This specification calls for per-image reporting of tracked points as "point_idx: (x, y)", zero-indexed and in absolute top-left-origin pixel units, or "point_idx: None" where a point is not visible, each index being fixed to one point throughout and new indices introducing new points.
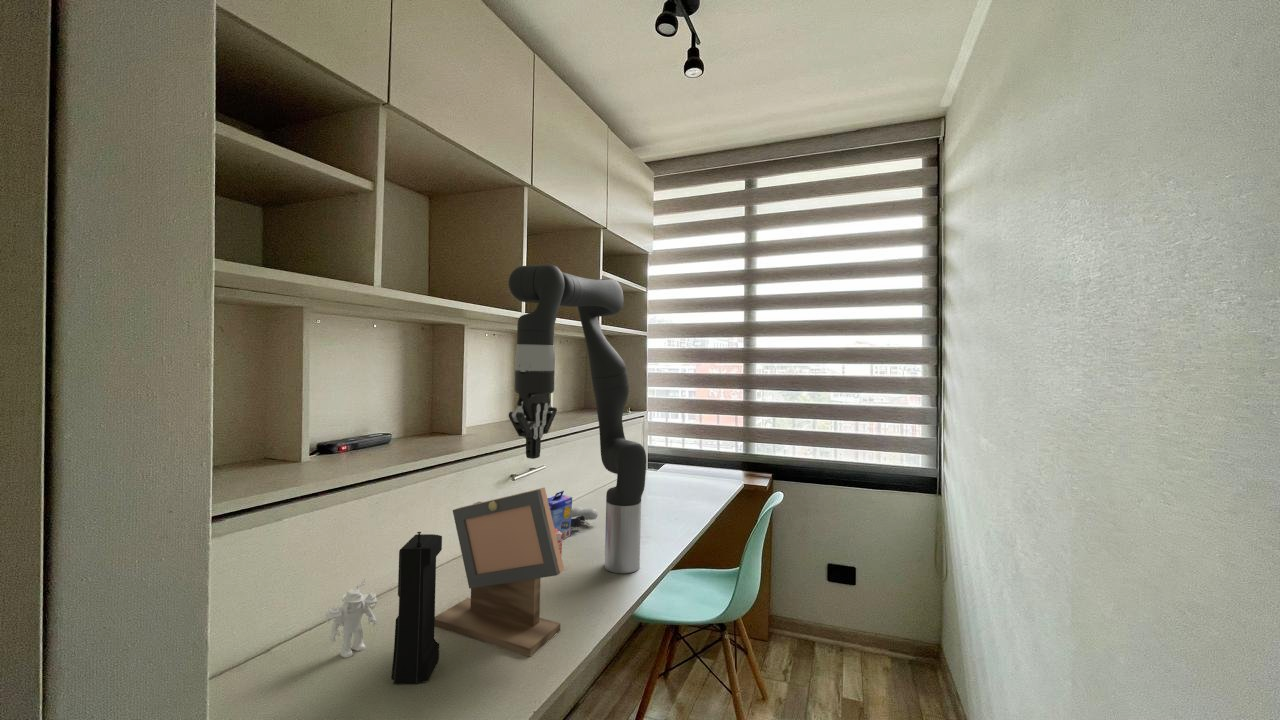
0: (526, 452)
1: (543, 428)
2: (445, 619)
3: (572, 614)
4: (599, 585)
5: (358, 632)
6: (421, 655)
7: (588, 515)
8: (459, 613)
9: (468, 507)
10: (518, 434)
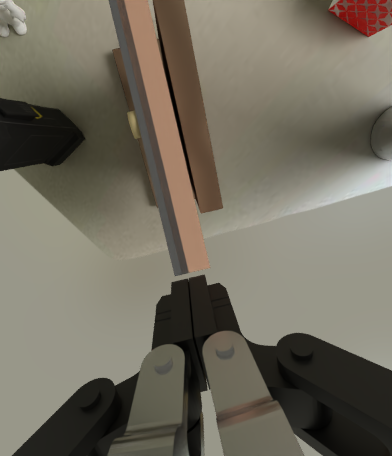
0: (157, 310)
1: (300, 427)
2: (124, 69)
3: (246, 177)
4: (327, 149)
5: (2, 19)
6: (40, 163)
7: None
8: None
9: (114, 22)
10: (68, 404)
